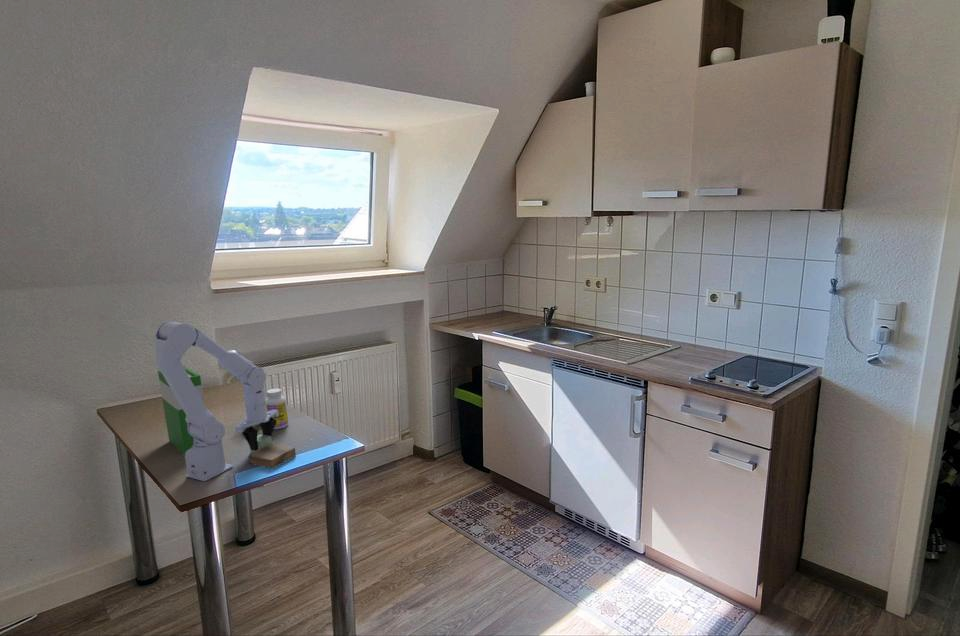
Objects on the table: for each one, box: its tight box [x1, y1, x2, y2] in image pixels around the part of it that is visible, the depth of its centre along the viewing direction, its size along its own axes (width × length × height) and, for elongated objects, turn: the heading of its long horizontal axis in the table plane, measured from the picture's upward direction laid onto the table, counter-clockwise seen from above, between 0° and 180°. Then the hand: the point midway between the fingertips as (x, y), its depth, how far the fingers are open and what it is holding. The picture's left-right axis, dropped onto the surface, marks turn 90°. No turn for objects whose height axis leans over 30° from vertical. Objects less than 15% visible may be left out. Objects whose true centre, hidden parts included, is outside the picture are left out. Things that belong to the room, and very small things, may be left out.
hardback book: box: [157, 365, 205, 457], centre depth 174 cm, size 18×7×24 cm, turn 43°
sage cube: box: [249, 433, 273, 454], centre depth 168 cm, size 4×4×4 cm
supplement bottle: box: [265, 388, 289, 430], centre depth 187 cm, size 7×7×13 cm
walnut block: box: [248, 442, 297, 469], centre depth 162 cm, size 9×9×3 cm
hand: (261, 446), depth 168 cm, fingers open, 5 cm apart
